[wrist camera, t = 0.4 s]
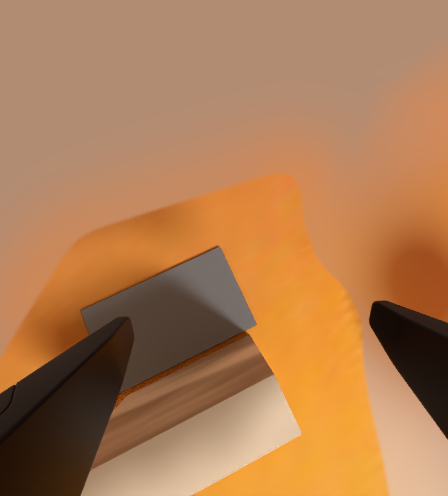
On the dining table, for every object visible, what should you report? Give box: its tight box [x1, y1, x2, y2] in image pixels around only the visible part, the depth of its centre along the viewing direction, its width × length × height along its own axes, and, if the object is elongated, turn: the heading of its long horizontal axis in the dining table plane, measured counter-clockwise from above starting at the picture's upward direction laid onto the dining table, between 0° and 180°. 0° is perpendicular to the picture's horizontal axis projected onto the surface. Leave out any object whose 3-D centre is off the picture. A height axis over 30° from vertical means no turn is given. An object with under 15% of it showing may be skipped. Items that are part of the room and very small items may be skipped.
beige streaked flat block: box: [81, 335, 302, 496], centre depth 16 cm, size 3×12×10 cm, turn 115°
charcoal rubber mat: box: [81, 247, 257, 393], centre depth 22 cm, size 8×14×1 cm, turn 115°
